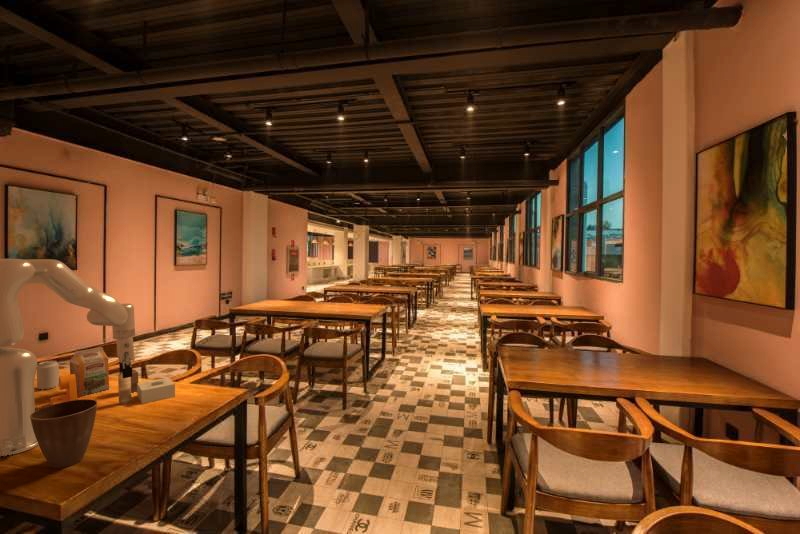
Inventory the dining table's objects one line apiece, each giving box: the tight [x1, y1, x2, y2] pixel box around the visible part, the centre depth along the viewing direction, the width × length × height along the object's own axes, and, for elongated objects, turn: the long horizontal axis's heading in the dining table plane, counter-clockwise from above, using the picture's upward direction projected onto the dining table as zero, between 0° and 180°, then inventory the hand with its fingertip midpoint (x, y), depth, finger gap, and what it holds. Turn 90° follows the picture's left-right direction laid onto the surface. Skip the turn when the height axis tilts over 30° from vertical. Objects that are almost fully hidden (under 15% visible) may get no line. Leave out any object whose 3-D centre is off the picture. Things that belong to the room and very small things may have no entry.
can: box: [36, 360, 60, 391], centre depth 177 cm, size 8×8×12 cm
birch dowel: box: [117, 373, 132, 406], centre depth 159 cm, size 4×4×12 cm
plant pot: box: [30, 398, 98, 469], centre depth 113 cm, size 15×15×16 cm
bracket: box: [49, 374, 79, 405], centre depth 156 cm, size 11×7×12 cm, turn 49°
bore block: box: [136, 377, 176, 405], centre depth 166 cm, size 12×12×6 cm
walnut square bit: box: [118, 369, 139, 394], centre depth 171 cm, size 6×6×9 cm
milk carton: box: [69, 346, 110, 398], centre depth 172 cm, size 11×11×19 cm
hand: (125, 374), depth 159 cm, fingers open, 9 cm apart
